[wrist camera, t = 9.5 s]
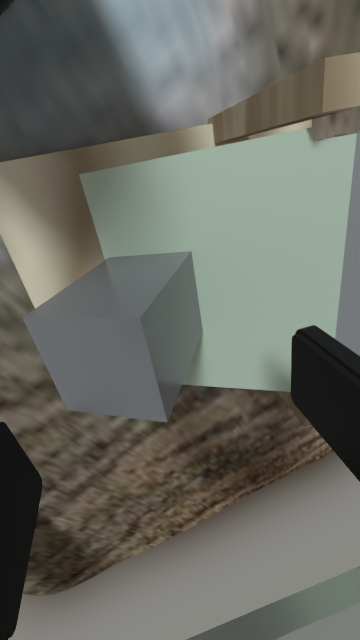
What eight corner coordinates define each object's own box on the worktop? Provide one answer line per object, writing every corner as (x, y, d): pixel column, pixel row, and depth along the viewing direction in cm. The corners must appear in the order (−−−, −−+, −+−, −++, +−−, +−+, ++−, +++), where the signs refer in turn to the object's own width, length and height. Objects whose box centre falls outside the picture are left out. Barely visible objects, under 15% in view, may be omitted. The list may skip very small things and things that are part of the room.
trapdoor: (430, 104, 14) (498, 89, 9) (381, 347, 20) (408, 399, 16) (122, 167, 19) (78, 174, 15) (164, 343, 26) (142, 381, 21)
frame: (305, 101, 21) (509, 28, 10) (298, 314, 29) (407, 391, 19) (-29, 161, 18) (-209, 143, 7) (71, 379, 26) (52, 513, 16)
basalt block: (191, 251, 15) (139, 317, 10) (202, 330, 18) (167, 422, 12) (108, 257, 17) (22, 317, 11) (129, 329, 19) (67, 410, 14)
